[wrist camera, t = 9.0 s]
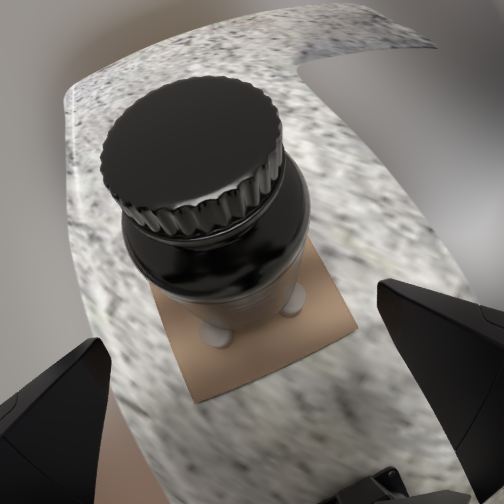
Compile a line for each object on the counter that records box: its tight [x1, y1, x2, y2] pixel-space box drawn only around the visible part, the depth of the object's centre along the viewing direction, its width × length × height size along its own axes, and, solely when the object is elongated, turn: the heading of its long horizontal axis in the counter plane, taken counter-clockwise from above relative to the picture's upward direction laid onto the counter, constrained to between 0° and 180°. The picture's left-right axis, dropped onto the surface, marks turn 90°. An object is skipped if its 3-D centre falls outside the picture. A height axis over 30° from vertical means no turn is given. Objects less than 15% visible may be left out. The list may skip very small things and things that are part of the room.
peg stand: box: [149, 236, 358, 403], centre depth 20 cm, size 12×12×4 cm
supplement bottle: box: [100, 76, 311, 331], centre depth 12 cm, size 7×7×12 cm
